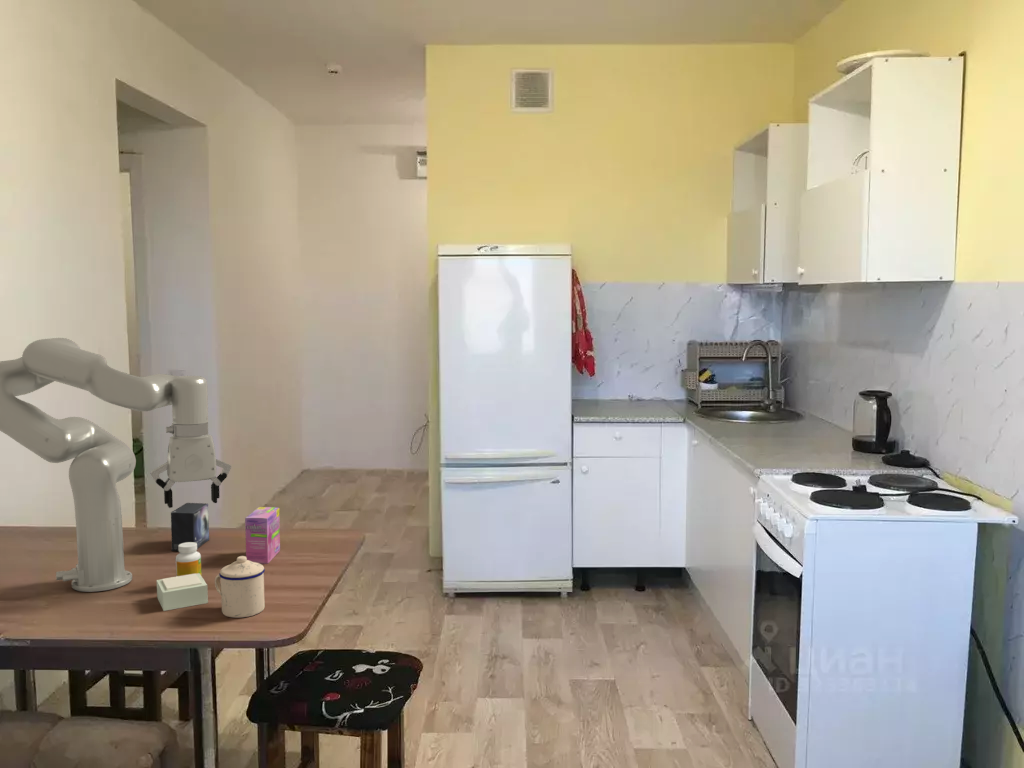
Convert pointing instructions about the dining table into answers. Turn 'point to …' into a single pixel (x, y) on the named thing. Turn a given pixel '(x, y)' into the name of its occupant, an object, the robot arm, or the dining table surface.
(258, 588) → the teacup with lid
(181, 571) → the supplement bottle
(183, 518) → the small box
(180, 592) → the pedestal
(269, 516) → the box
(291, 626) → the dining table surface
